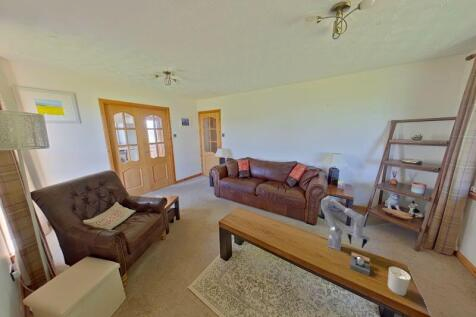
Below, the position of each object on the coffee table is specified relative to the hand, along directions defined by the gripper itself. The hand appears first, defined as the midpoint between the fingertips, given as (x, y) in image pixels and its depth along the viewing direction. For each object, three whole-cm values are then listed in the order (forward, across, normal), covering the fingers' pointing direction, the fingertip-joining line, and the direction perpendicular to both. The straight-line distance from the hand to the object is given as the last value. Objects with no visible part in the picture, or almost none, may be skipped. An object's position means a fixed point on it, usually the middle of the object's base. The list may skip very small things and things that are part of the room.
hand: (356, 245), depth 130 cm
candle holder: (+10, +22, -19) cm, 31 cm away
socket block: (+9, +3, -11) cm, 15 cm away
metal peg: (+9, +3, -13) cm, 16 cm away
